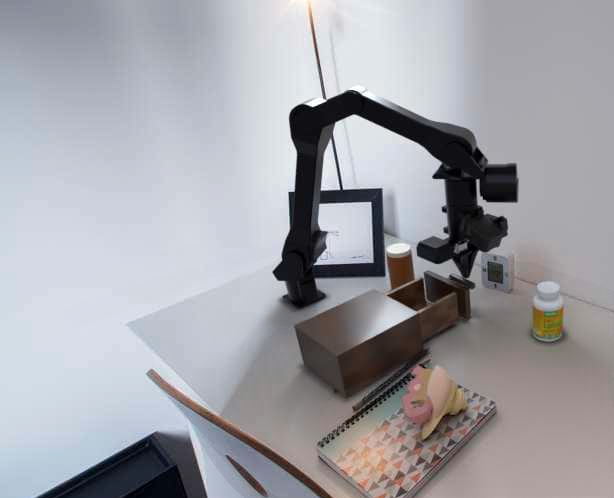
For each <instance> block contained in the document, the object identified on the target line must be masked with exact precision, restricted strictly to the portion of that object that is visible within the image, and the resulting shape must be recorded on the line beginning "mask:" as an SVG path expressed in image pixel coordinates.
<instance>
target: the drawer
mask: <svg viewBox="0 0 614 498" xmlns="http://www.w3.org/2000/svg"><path fill="white" fill-rule="evenodd" d="M475 288H476V283H475V282H474V281H472V280H470V279H468V278H467V279H466V278H463V276H460V275H458V274H455V273H453V272H451V273H449V275H448V277H446V276H442V275H441V274H438V273H436V272H434V271H432V270H429V269H427V270H425V271H423V276H419V277H417V278H415V280H413V281H411V282H409V283H406V284H404V285H402V286H400V287H398V288H396V289H394V290H389V291H388V292H386V293H385V292H384V293H383V294H384V295H386V296H388V297H390V298H392V299H394V300H396V301H398V302H399V303H401V304H403V305H405V306H407V307H409V308H411V309H413V310H414V311H416V312H418V313H419V317H420V325H421V333H422V341H423V342H424V341H426V340H428V339H430V338H431V337H433V336H434V335H436V334H438V333H440V332H441V331H443V330H445V329H447V328H448V327H450V326H452V325H454V324H456V323H457V322H459V320H460V318H461V319H463V320H465V321H468V320H470V319H471V318H472V309H471V308H472V307H471V292H470V290H474V289H475ZM459 317H460V318H459Z"/></svg>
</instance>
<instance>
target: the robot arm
mask: <svg viewBox="0 0 614 498" xmlns="http://www.w3.org/2000/svg"><path fill="white" fill-rule="evenodd" d="M352 116H357V117H360V118H362V119H363V120H366V121H368V122H370V123H373V124H375V125H377V126H379V127H381V128H384V129H386V130H387V131H390V132H392V133H394V134H396V135H399V136H401V137H402V138H404V139H407V140H409V141H411V142H414V143H416V144H417V145H419V146H421V147H422V148H424V150H425V151H426V152H428V153H429V154H430V156H432V157H433V158H434V159H436V160H438V161H439V162H440V165H439V167H438V168H436V170H435V171H434V173H433V174H432V175H431V176H432V177H431V178H432V179H433V180H443V183H444V196H445V198H444V199H445V205H442V206H441V213H444V214H446V223H447V225H446V226H444V227H442V230H443V234H446V235H448V237H446V238H444V239H442V238H441V237H438V236H435V235H433V236H429V237H427V238H425V239H423V240H420V241H418V242H417V243H416V257H418V258H420V259H423V260H425V261H427V262H430V263H432V264H434V265H441V264H444V263H446V262H448V261H451V260H452V261H453V263H454V264H455V266H456V268H457V270H458V271H459V273H460V275H461V277H463V278H465V279H467V280H468V279H469V278H470V277H471V273H472V271H473V268H474V264H475V261H476V259H477V255H478V253H479V252H481V253H483V254H484V253H489V252H491V251H492V250H493V249H497V248H499V247H500V246H501V244H502V239H503V238H505V237H508V236H509V232H508V230H509V224H508V223H509V222H508V219H507V217H505V216H504V215H500V216H496V215H493V214H491V213H485V209H484V207H483V206H482V205H480V204H478V203H479V202H478V193H479V197H481V198H482V201H485V202H486V203H491V204H492V203H494V204H495V203H498V204H499V203H501V204H518V203H519V191H520V190H519V189H520V188H519V187H520V186H519V185H520V184H519V183H520V180H519V179H520V178H519V176H518V165H517V162H509V163H508V162H507V163H489V159H488V158H487V157H486V155H485V154H484V153H483V152H482V150H481V149H480V148H479V146H478V145H477V143H478V141H477V139H476V136H475V134H474V133H473V132H472V131H471V130H470V129H468V128H467V127H464V126H460V125H456V124H453V123H449V122H443V121H436V120H432V119H429V118H426V117H424V116H423V115H420V114H419V113H416V112H414V111H411V110H409V109H407V108H406V107H403V106H401V105H399V104H396V103H395V102H392V101H390V100H388V99H386V98H384V97H381V96H379V95H377V94H375V93H373V92H371V91H369V90H368V89H367V88H366V87H364V86H361V85H355V86H353V87H351V88H349V89H347V90H345V91H344V92H342V93H339V94H337V95H334V96H332V97H329V98H327V99H324V98H322V97H313V98H310V99H308V100H306V101H303V102H301V103H299V104H297V105H295V106H294V107H292V108H291V110H290V112H289V115H288V124H289V125H288V126H289V133H290V139H291V141H292V143H293V147H294V149H295V151H296V159H295V160H296V161H295V162H296V163H295V176H294V177H295V178H294V194H293V209H292V223H291V226H290V228H289V231H288V233H287V236H286V238H285V240H284V243H283V246H282V250H281V261H280V262H279V263H278V264H277V266H276V267H275V268H274V269H273V270H272V271H271V272H272V274H273V276H274V278H275V279H276V281H277V282H284V284H285V288H286V292H287V293H285V294H284V295H281V296H282V297H281V298H282V300H284V301H285V302H287V303H288V304H289V305H291V306H293V307H294V308H295V309H300V308H303V307H306V306H308V305H311V304H312V303H315V302H317V301H319V300H321V299H324V298H326V296H327V295H326V293H325V292H323V291H321V290H320V289H318V286H317V281H316V278H315V272H314V269H313V266H314V265H315V264H317V262H318V259H320V257H321V255H322V254H323V253H324V252H325V251H326V250H327V249H328V246H327V238H328V234H329V231H327V230H322V229H321V228H320V225H319V213H320V201H321V193H322V183H323V182H322V180H323V169H324V160H325V153H326V152H325V151H326V150H327V148H328V145H329V143H330V141H331V139H332V137H333V134H334V131H335V126H336V123H338V122H340V121H342V120H345V119H347V118H349V117H352ZM477 180H478V182H479V183H478V182H477ZM477 183H478V184H477ZM478 189H479V190H478ZM478 191H479V192H478Z"/></svg>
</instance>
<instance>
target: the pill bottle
mask: <svg viewBox="0 0 614 498" xmlns="http://www.w3.org/2000/svg"><path fill="white" fill-rule="evenodd" d="M385 252H386V263H387V268H388V269H387V271H388V276H389V282H390V283H389V284H390V291H392V290H394V289H396V288H398V287H400V286H402V285H404V284H406V283H409V282H411V281H413V280H415V279H416V277H415V276H416V275H415V270H414V269H415V268H414V262H413V259H414V258H413V254H412V253H413V252H412V247H411V245H410V244H408V243H403V242H401V243H400V242H399V243H394V244H393V243H392V244H390V245H389V246H387V247H386V249H385Z"/></svg>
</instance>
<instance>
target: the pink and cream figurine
mask: <svg viewBox="0 0 614 498" xmlns="http://www.w3.org/2000/svg"><path fill="white" fill-rule="evenodd" d="M410 376H413V377H414V378H413V379H411V380H409V381H408V384H407V387H406V392H407V393H406V394H403V395H402V397H401V403H402V409H403V410H402V411H403V412H404V415H405V418H406V419H407V420H408V421H409V422H413V423H414V424H415V425H422V424H424V425H423V427H422V431H421V440H425V439H427V438H428V437H429V436H430V435H431V434H432V433H433V431H434V430H435V428H436V426H438V424H439V423H440V421H441V420H442V418H443V417H444V416H445V415H447V414H449V415H450V416H453V415H454V416H456V415H457V414H458V413H459V412H460V410H465V409H466V408H467V407H468V405H469V403H468V401H467V400H466V399H465V395H466V394H465V391H464V390H463V389H462V388H458V386H457V382H456V380H454V381H453V379H452V378H450V377H449V375H448V373H447V372H446V371H445V369H444V368H443V367H442V366H440V365H438V364H436V366H435V367H434V368H423V367H421V366H420V364H417V365H416V367H415V368H413V370H412V371H411V372H410ZM412 404H416V405H418V406H416V407H414V408H413V405H412Z"/></svg>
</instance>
